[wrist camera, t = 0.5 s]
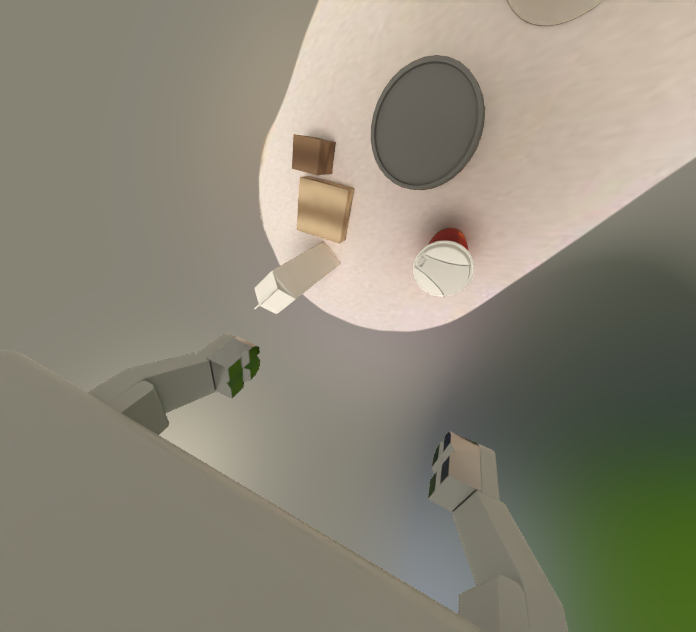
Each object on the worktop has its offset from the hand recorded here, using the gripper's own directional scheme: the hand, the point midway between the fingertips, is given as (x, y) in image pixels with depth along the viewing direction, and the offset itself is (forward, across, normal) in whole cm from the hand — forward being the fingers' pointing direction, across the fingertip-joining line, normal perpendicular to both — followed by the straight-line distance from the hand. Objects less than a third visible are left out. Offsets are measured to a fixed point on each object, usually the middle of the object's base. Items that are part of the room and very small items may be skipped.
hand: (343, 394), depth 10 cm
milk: (+44, +21, +16) cm, 52 cm away
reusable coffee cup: (+44, +5, -10) cm, 46 cm away
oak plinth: (+44, +22, +5) cm, 49 cm away
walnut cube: (+44, +24, -4) cm, 51 cm away
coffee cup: (+44, -3, +5) cm, 45 cm away
